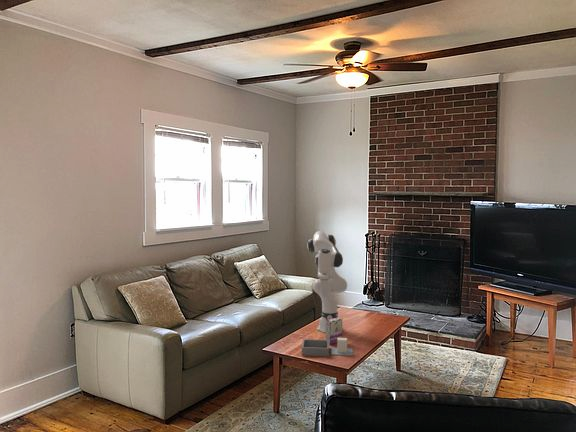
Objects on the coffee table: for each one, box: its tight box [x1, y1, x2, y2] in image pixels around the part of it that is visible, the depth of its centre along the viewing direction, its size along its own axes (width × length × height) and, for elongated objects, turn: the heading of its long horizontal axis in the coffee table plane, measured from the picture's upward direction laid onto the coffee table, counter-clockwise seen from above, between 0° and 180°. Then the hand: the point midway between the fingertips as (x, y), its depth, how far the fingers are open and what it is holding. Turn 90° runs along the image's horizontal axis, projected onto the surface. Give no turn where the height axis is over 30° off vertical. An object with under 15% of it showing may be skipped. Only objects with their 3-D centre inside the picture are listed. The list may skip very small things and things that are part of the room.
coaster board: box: [330, 347, 354, 357], centre depth 291 cm, size 12×14×1 cm
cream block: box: [336, 337, 348, 353], centre depth 290 cm, size 4×6×8 cm
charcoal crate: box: [301, 338, 330, 357], centre depth 292 cm, size 16×17×5 cm
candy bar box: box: [325, 316, 343, 346], centre depth 308 cm, size 11×5×16 cm, turn 126°
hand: (324, 294), depth 298 cm, fingers open, 8 cm apart
